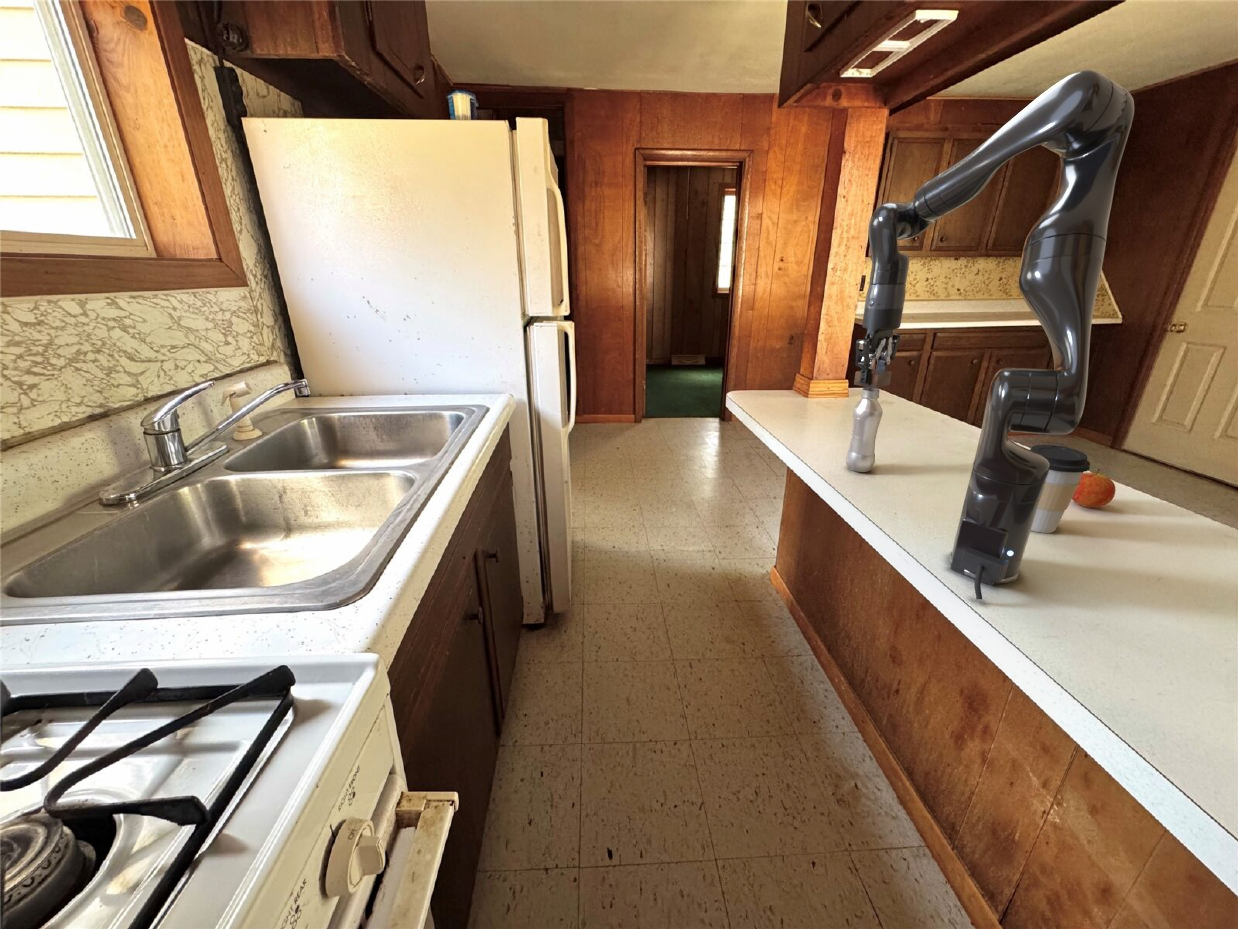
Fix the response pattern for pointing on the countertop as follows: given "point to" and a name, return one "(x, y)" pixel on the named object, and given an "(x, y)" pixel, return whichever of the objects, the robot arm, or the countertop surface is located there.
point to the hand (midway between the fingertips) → (872, 382)
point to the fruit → (1094, 490)
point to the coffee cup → (1058, 484)
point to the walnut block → (875, 378)
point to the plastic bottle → (864, 431)
